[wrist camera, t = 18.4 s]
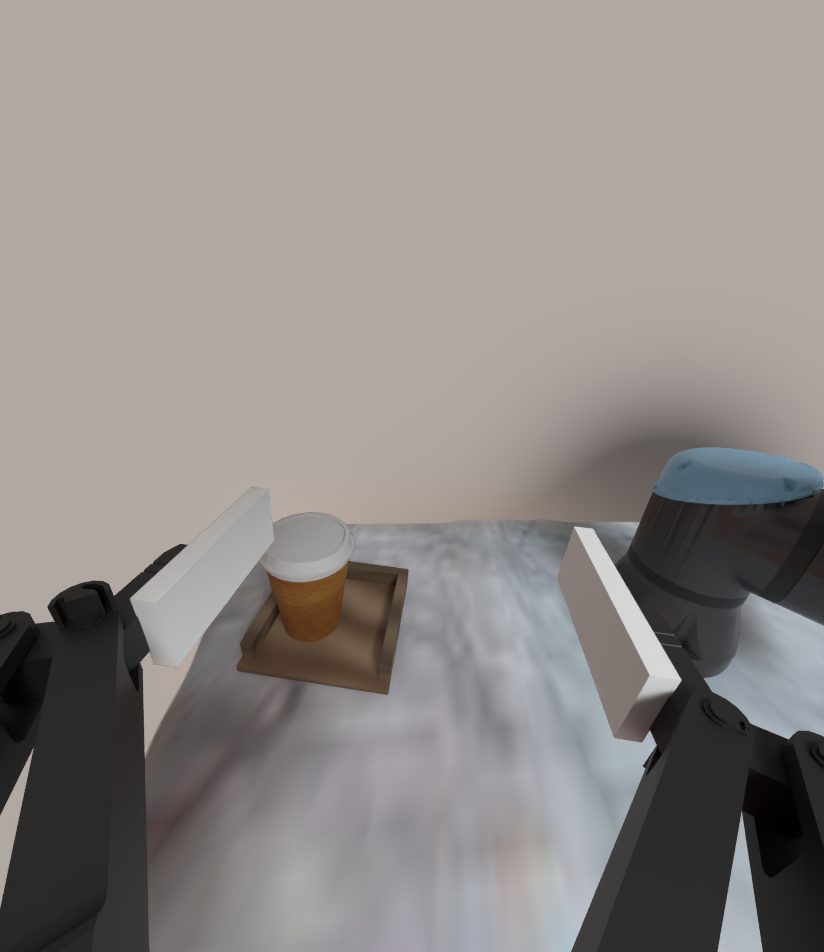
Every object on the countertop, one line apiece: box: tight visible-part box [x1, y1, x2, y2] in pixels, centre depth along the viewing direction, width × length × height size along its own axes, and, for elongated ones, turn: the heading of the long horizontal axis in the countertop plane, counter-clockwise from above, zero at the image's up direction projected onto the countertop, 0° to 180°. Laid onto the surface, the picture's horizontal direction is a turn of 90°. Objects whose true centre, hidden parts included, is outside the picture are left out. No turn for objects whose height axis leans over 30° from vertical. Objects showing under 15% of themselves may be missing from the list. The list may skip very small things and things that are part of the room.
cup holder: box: [237, 561, 408, 695], centre depth 42 cm, size 15×15×3 cm
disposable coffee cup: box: [259, 512, 354, 642], centre depth 40 cm, size 10×10×12 cm
